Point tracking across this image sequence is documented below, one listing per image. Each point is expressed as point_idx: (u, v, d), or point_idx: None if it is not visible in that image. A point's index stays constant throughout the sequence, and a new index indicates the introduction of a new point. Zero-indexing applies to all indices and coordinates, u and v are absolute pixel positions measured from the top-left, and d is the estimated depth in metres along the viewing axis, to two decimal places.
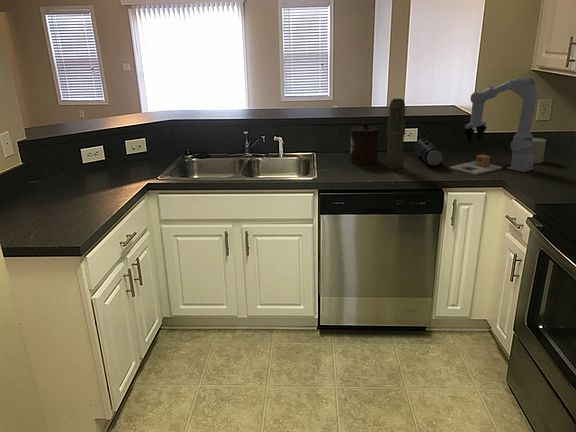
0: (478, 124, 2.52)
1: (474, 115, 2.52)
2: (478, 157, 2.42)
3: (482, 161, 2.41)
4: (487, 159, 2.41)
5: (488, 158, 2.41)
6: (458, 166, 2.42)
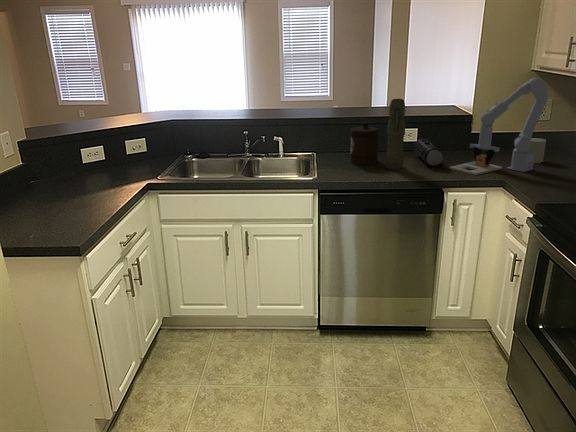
0: (479, 146, 2.40)
1: None
2: (478, 157, 2.42)
3: (482, 161, 2.41)
4: None
5: None
6: (458, 166, 2.42)
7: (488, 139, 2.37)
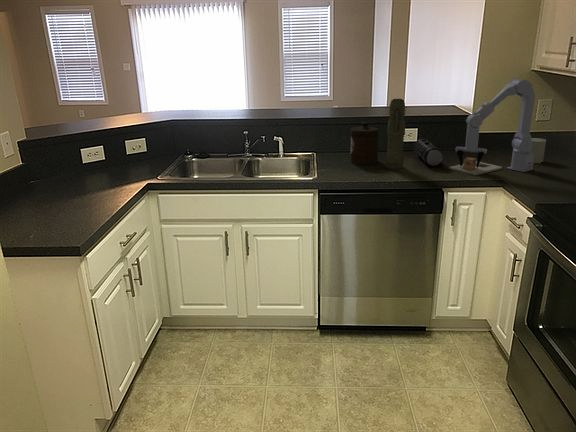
0: (467, 149, 2.34)
1: (466, 138, 2.35)
2: (466, 160, 2.37)
3: (471, 164, 2.36)
4: (474, 162, 2.37)
5: (475, 161, 2.37)
6: (458, 166, 2.42)
7: (476, 141, 2.32)
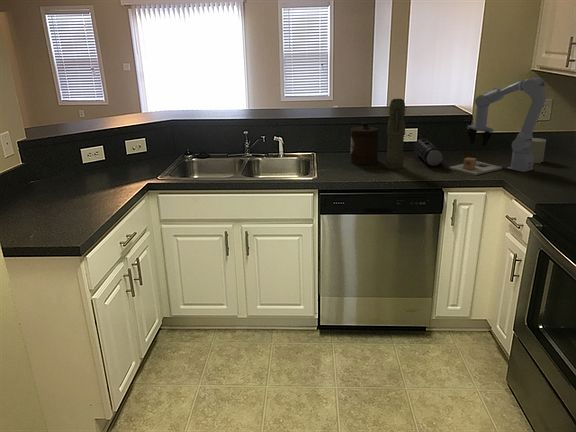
0: (474, 127, 2.48)
1: None
2: (466, 160, 2.37)
3: (471, 164, 2.36)
4: (474, 162, 2.37)
5: (475, 161, 2.37)
6: (458, 166, 2.42)
7: (483, 120, 2.44)
